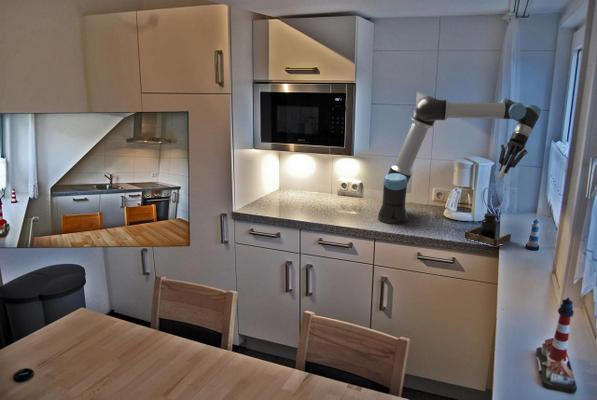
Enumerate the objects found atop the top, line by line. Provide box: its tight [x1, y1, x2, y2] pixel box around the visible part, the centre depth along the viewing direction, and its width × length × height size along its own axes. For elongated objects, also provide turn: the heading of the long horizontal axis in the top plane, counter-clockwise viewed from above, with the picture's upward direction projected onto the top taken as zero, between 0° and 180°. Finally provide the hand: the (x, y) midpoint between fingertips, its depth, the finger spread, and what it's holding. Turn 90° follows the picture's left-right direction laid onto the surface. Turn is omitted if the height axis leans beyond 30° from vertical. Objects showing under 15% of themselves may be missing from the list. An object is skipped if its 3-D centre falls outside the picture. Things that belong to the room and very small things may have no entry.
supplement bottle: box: [479, 212, 498, 240], centre depth 216 cm, size 7×7×12 cm
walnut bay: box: [464, 225, 512, 246], centre depth 215 cm, size 15×14×4 cm
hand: (499, 178), depth 228 cm, fingers closed
